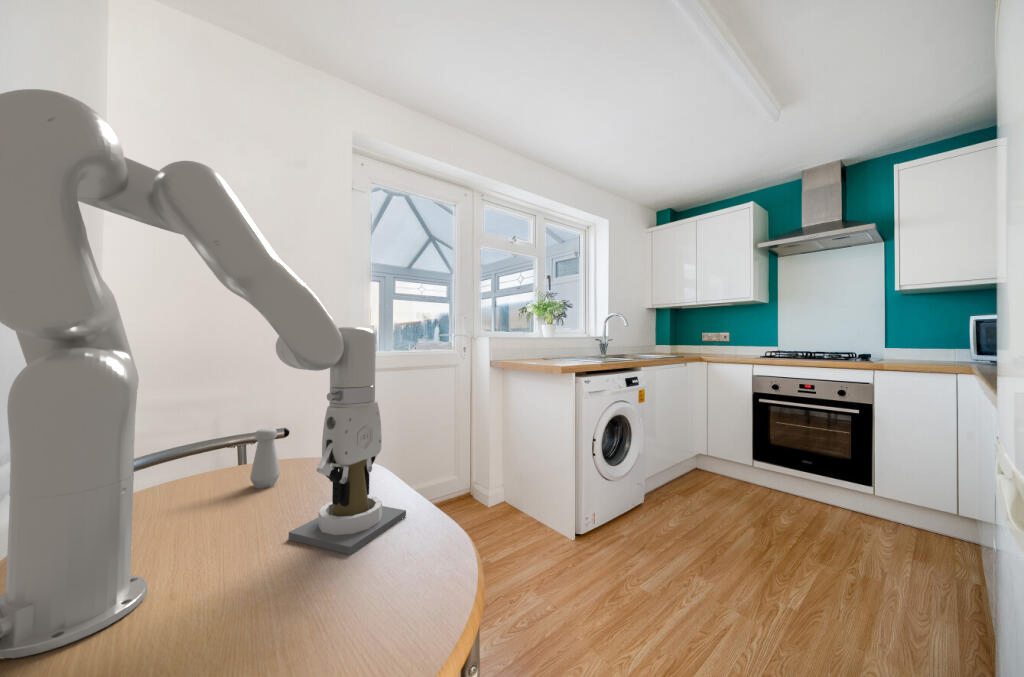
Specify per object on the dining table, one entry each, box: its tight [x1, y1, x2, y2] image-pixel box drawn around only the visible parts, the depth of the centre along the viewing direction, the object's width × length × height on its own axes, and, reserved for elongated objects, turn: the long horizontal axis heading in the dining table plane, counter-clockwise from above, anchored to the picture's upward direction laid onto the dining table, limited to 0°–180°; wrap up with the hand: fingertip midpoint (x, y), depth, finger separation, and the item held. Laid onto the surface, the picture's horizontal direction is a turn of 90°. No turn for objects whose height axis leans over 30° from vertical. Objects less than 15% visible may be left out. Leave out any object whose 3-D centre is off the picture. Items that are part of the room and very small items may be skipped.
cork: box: [332, 459, 369, 517], centre depth 66 cm, size 6×6×11 cm
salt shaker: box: [249, 427, 281, 489], centre depth 87 cm, size 6×6×13 cm
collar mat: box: [288, 495, 407, 555], centre depth 66 cm, size 14×13×4 cm
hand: (351, 498), depth 66 cm, fingers closed on cork, 4 cm apart
